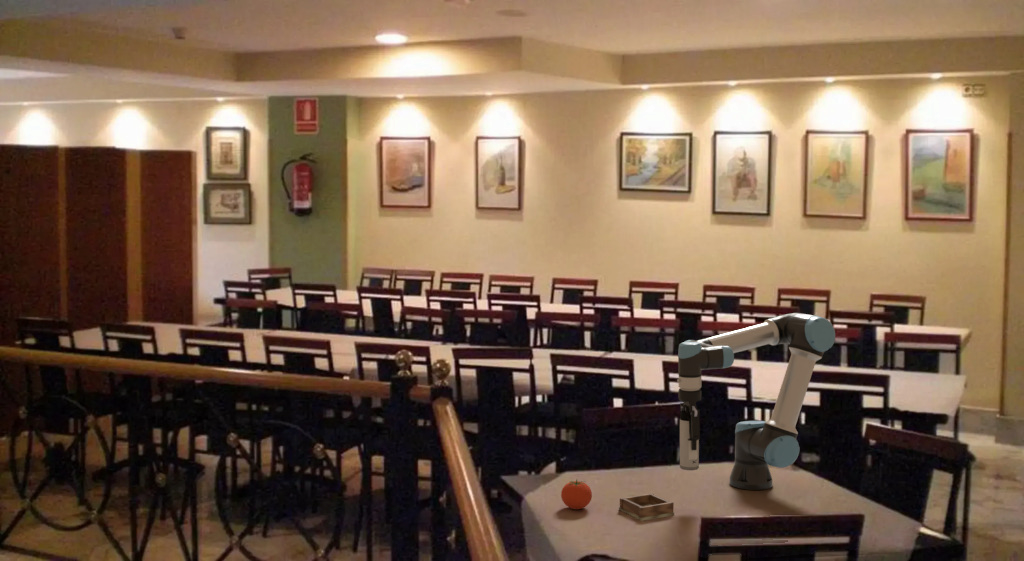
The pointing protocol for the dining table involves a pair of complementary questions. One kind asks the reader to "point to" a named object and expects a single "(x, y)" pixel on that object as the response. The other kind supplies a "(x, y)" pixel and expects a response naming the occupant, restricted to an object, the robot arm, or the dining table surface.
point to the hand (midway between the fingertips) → (689, 456)
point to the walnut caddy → (646, 506)
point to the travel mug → (686, 444)
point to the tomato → (576, 494)
